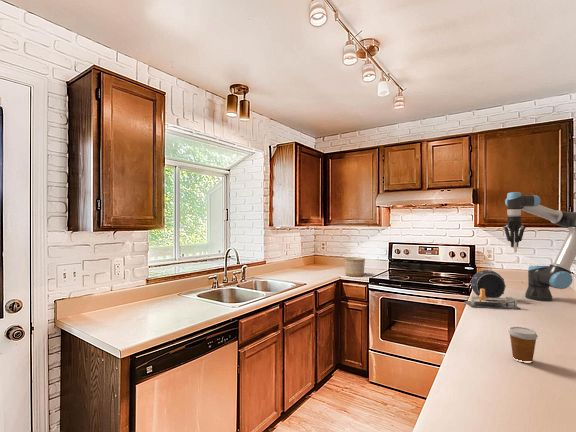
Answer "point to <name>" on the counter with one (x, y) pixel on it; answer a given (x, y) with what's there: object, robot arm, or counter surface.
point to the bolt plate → (492, 305)
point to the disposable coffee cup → (523, 343)
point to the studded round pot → (488, 283)
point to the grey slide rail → (508, 299)
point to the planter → (354, 266)
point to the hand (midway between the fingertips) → (514, 252)
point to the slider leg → (482, 295)
